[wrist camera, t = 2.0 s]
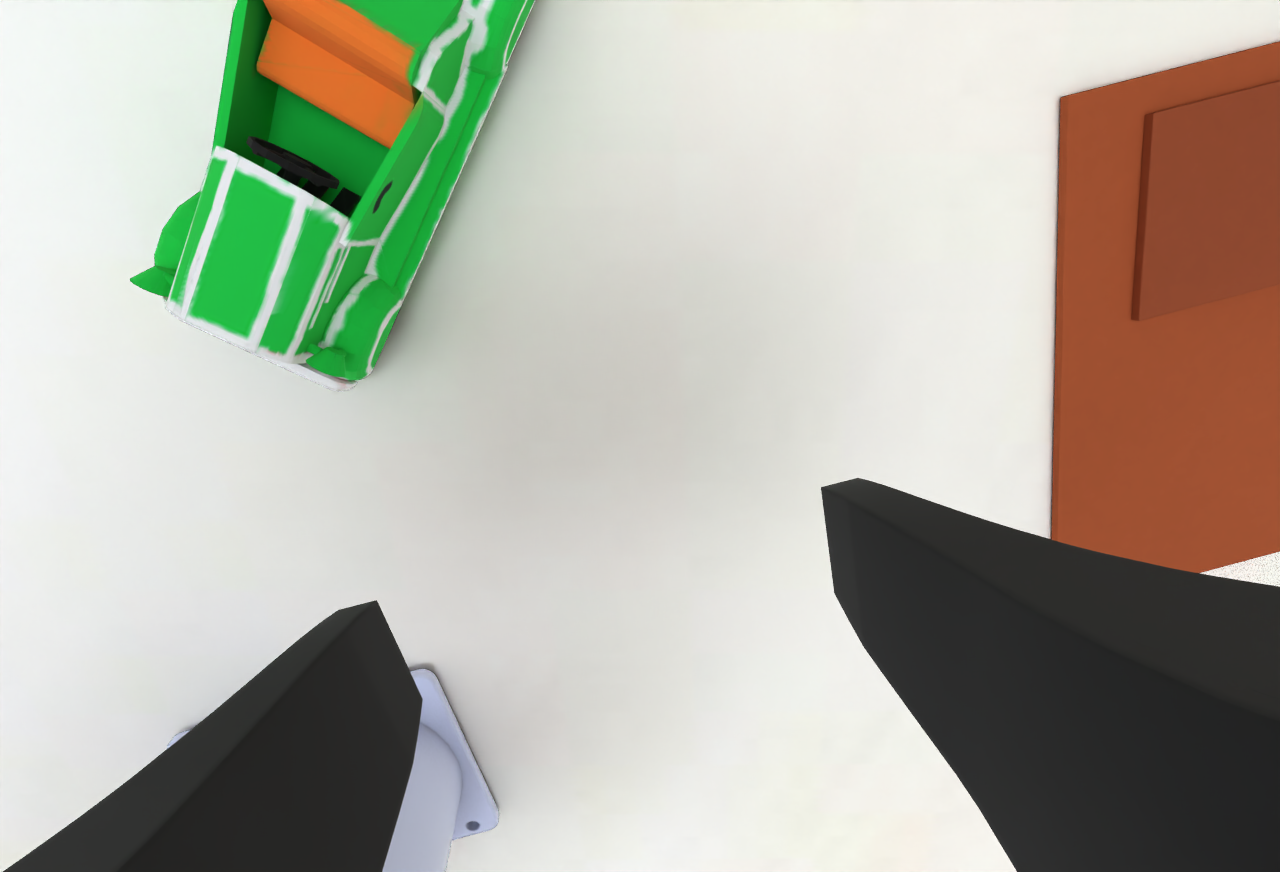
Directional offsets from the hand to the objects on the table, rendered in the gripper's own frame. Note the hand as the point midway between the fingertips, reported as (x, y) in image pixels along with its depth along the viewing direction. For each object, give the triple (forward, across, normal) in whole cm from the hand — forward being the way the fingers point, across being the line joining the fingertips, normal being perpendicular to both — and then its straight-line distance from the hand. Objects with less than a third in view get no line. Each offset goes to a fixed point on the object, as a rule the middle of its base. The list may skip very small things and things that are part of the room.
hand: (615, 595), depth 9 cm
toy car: (+10, +4, -8) cm, 14 cm away
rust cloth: (+10, -21, +3) cm, 23 cm away
